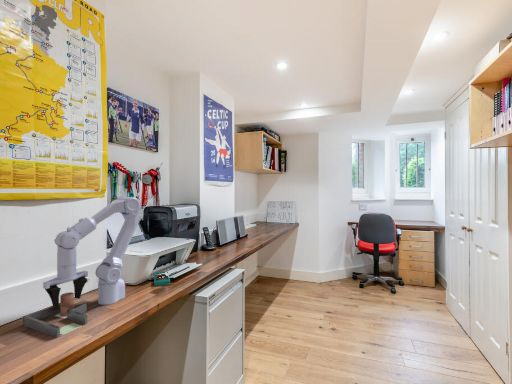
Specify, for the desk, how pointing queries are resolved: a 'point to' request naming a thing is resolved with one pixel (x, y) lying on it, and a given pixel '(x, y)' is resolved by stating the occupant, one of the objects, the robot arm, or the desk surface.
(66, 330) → the board
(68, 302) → the peg
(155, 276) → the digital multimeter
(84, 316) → the rails
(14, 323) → the desk surface
